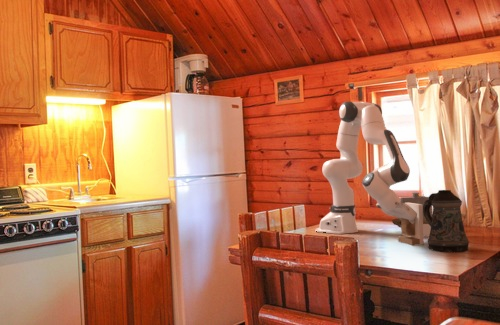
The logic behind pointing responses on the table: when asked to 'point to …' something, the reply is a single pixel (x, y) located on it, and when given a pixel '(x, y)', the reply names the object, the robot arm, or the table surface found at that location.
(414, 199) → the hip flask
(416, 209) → the wall board
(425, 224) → the wood carving
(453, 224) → the beer stein
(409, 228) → the cabinet block
